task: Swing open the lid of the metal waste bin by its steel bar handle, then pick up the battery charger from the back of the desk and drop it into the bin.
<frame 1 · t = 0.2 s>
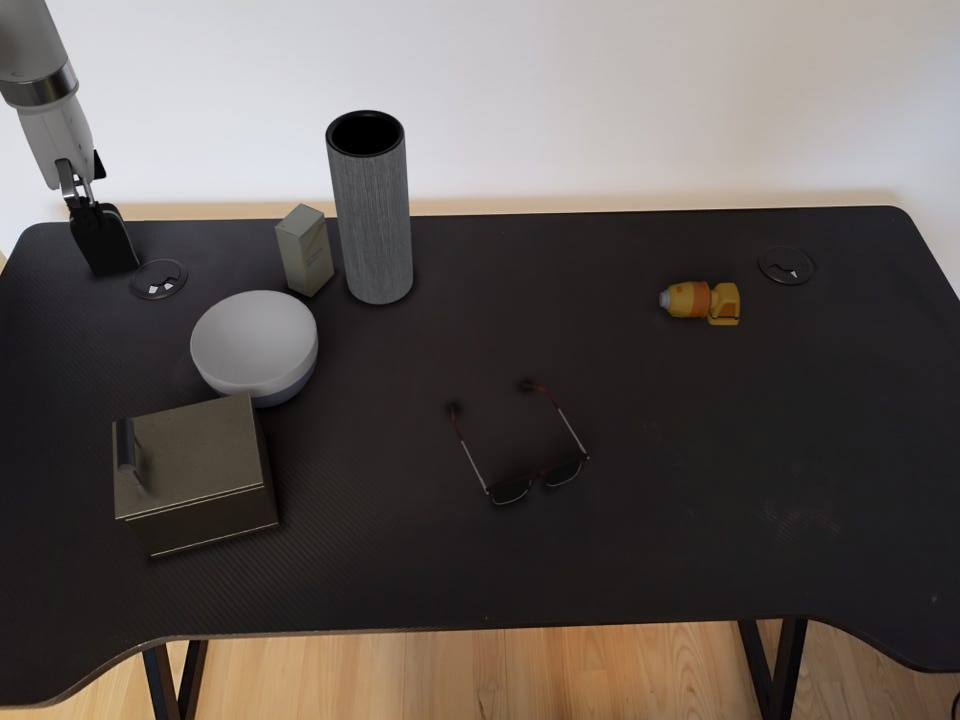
hand: (94, 203, 96), 23 cm above the table, tool pointing down, fingers open, 9 cm apart
bin lid: (181, 442, 88), point 13 cm above the table, hinge at 0.0°
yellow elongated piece: (696, 313, 119), on the table
vase: (380, 282, 121), on the table
cosmetic box: (311, 281, 121), on the table
white round container: (267, 380, 109), on the table
waste bin: (212, 496, 98), on the table
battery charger: (117, 266, 122), on the table
sunglasses: (511, 443, 104), on the table
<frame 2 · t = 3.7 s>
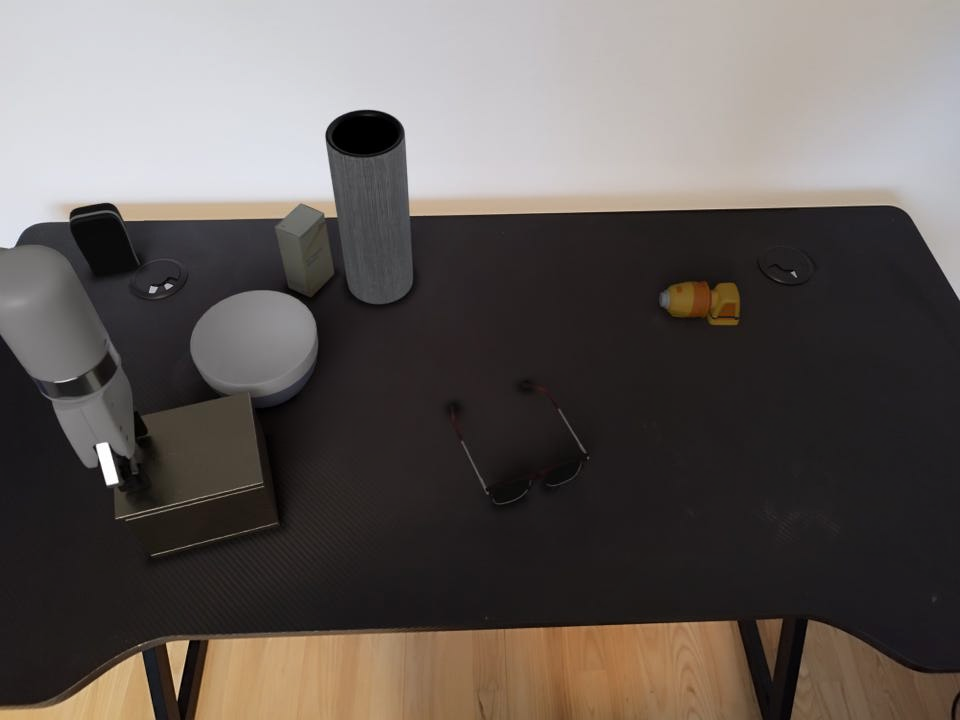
hand: (134, 460, 88), 11 cm above the table, tool pointing down, fingers closed on bin lid, 6 cm apart
bin lid: (181, 442, 88), point 13 cm above the table, hinge at 0.0°, touching gripper
everything else where it was.
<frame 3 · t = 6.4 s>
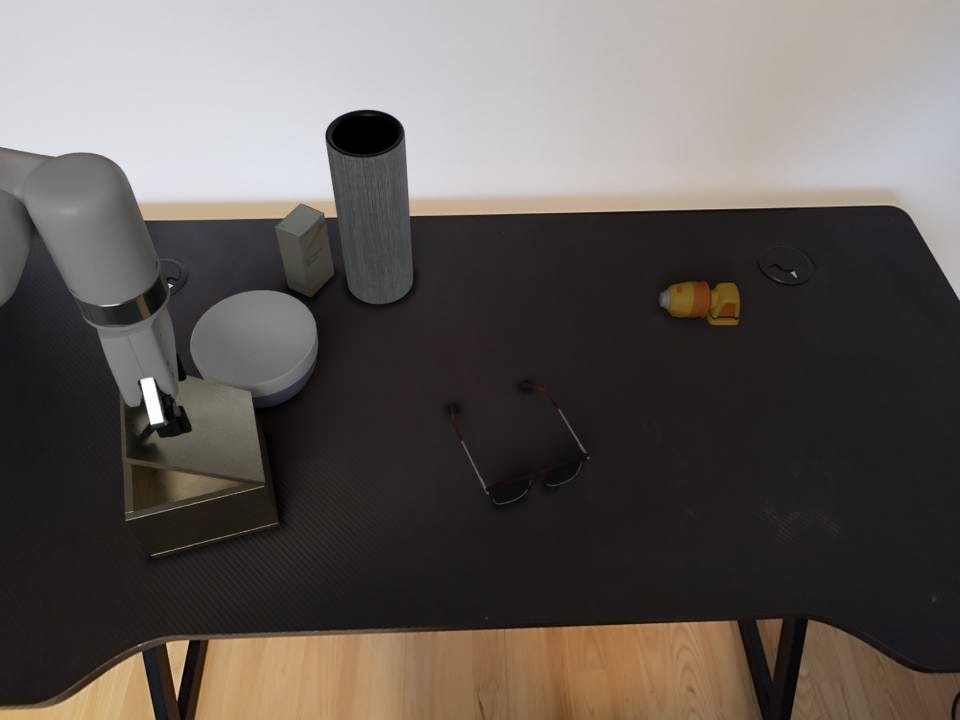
hand: (173, 405, 83), 19 cm above the table, tool pointing down, fingers closed on bin lid, 6 cm apart
bin lid: (203, 411, 85), point 17 cm above the table, hinge at 42.6°, touching gripper
everything else where it was.
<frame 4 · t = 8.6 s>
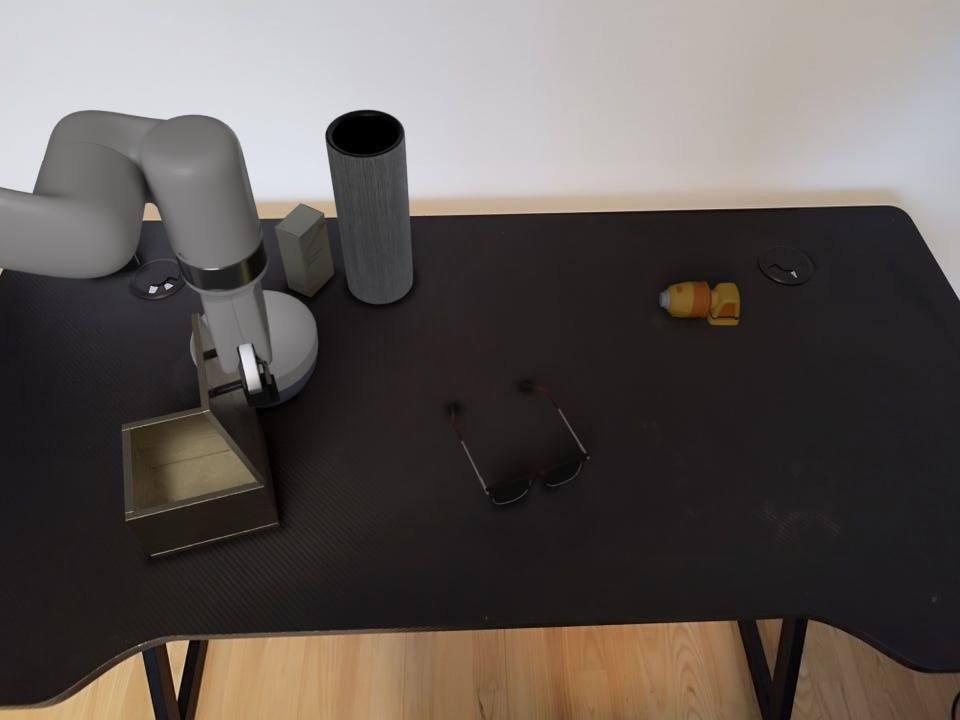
hand: (259, 375, 83), 21 cm above the table, tool pointing down, fingers closed on bin lid, 6 cm apart
bin lid: (250, 394, 85), point 18 cm above the table, hinge at 80.6°, touching gripper
everything else where it was.
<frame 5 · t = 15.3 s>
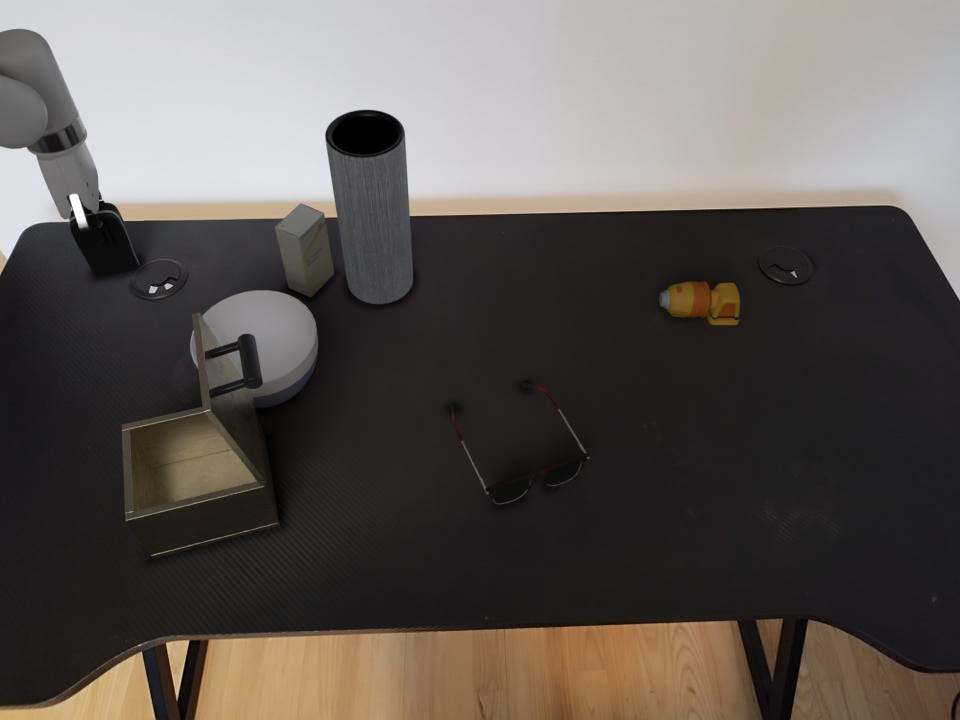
hand: (101, 233, 116), 7 cm above the table, tool pointing down, fingers closed on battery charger, 4 cm apart
bin lid: (251, 394, 85), point 18 cm above the table, hinge at 81.0°
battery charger: (117, 267, 122), on the table, touching gripper
everything else where it was.
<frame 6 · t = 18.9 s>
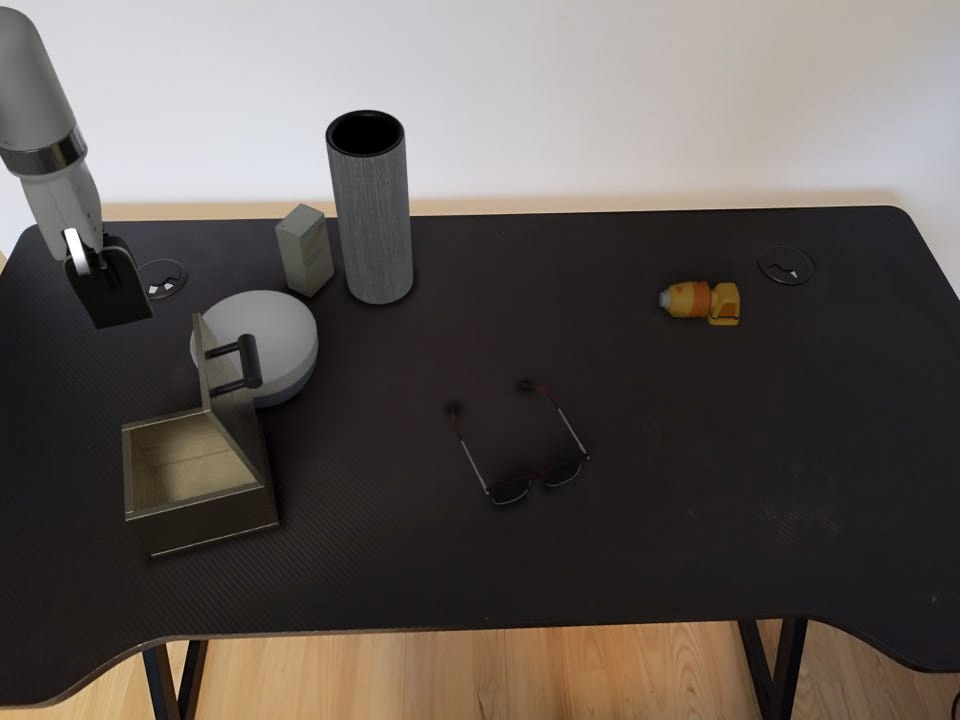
hand: (105, 275, 90), 22 cm above the table, tool pointing down, fingers closed on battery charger, 4 cm apart
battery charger: (125, 315, 96), point 15 cm above the table, touching gripper
everything else where it was.
when the fingers open (15 cm above the table, at t = 22.7 s): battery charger drops 6 cm, resting on waste bin.
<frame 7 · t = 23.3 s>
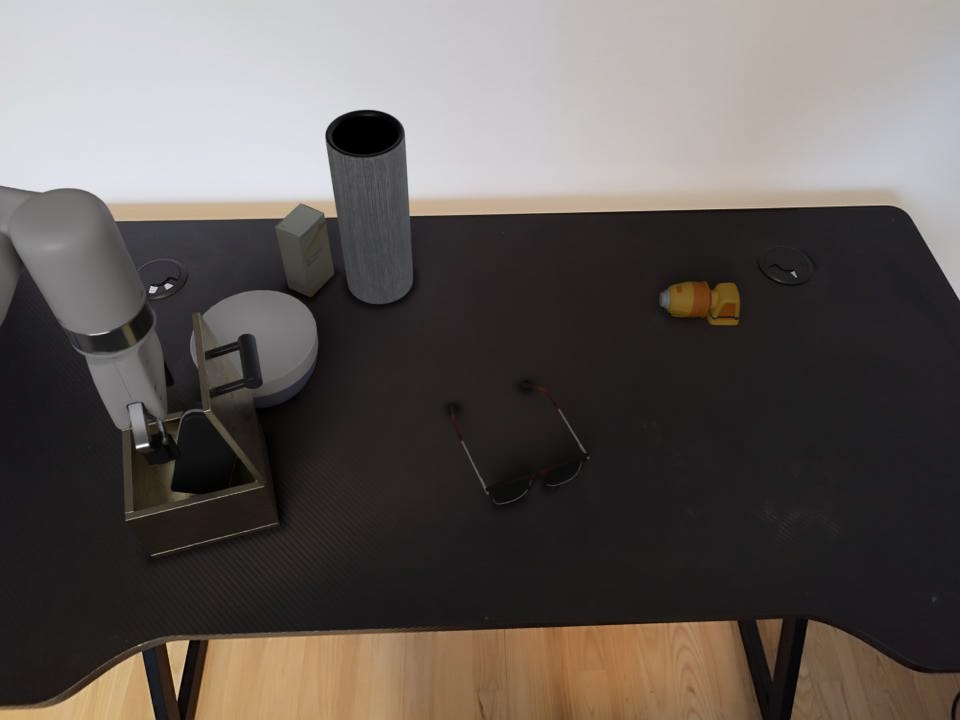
hand: (162, 421, 84), 17 cm above the table, tool pointing down, fingers open, 9 cm apart
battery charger: (199, 487, 96), point 2 cm above the table, touching waste bin
everything else where it was.
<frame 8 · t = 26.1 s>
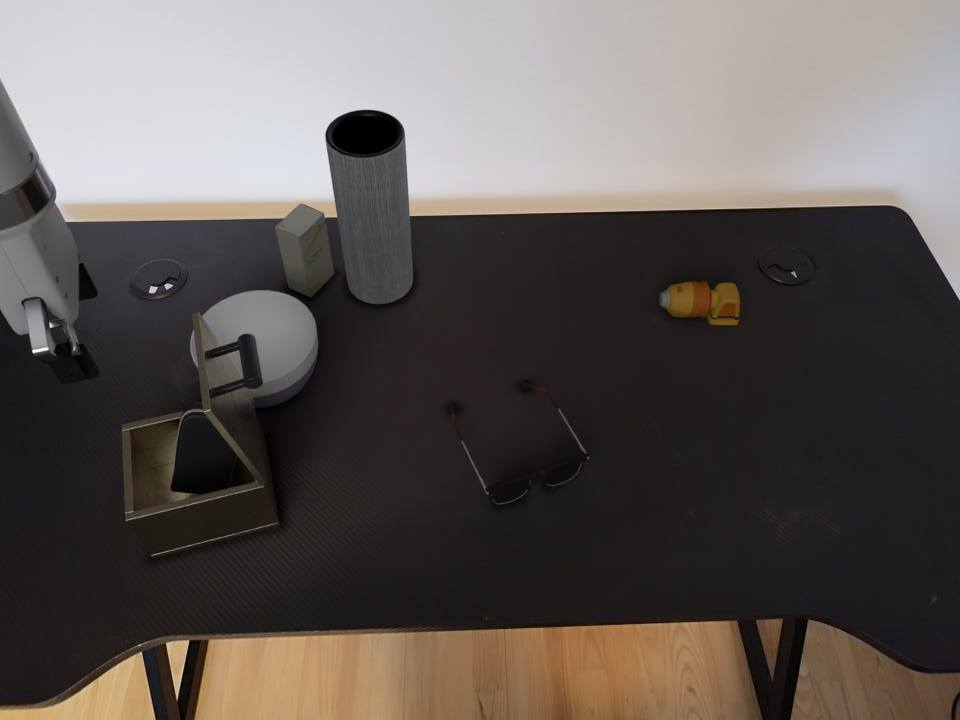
hand: (81, 336, 72), 32 cm above the table, tool pointing down, fingers open, 9 cm apart
nothing on the table moved.
at the end: bin lid at +81° (first picture: +0°); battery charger inside the target area in the waste bin (1.0 cm from its centre), point 2.1 cm above the waste bin's base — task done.
